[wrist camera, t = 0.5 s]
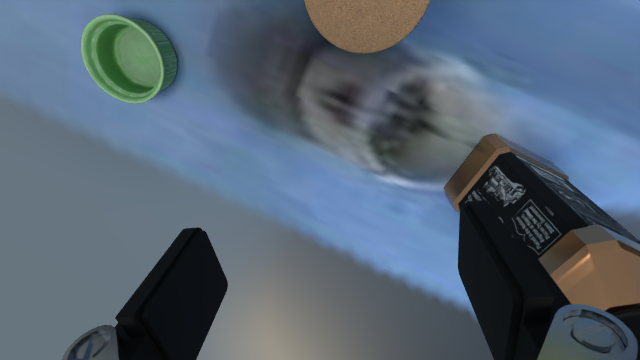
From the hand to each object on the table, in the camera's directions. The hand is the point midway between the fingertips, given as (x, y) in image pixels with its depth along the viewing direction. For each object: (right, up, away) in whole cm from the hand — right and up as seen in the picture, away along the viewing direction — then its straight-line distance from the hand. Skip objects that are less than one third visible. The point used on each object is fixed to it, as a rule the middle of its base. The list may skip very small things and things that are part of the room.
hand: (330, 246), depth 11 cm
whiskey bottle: (+23, +3, +29) cm, 37 cm away
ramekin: (-21, +17, +26) cm, 38 cm away
